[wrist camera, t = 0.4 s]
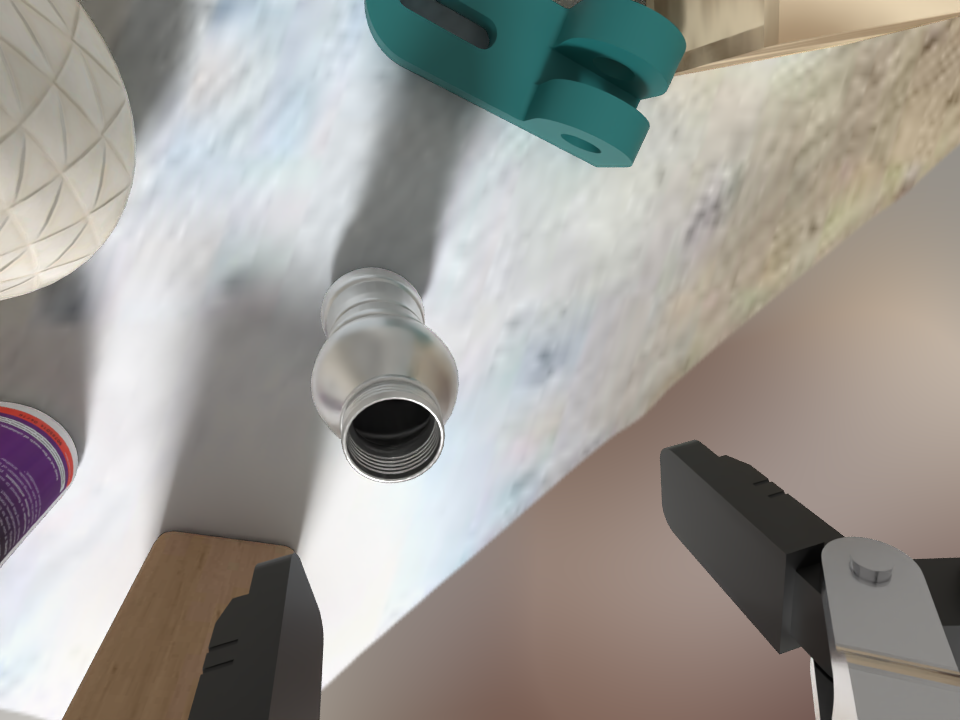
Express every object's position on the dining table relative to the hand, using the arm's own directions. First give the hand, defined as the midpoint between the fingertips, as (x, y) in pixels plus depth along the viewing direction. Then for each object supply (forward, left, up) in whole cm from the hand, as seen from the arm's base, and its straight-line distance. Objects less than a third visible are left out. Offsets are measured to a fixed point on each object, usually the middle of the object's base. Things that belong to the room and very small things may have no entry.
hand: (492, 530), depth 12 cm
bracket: (-12, +10, -29) cm, 33 cm away
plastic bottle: (+2, -2, -28) cm, 28 cm away
